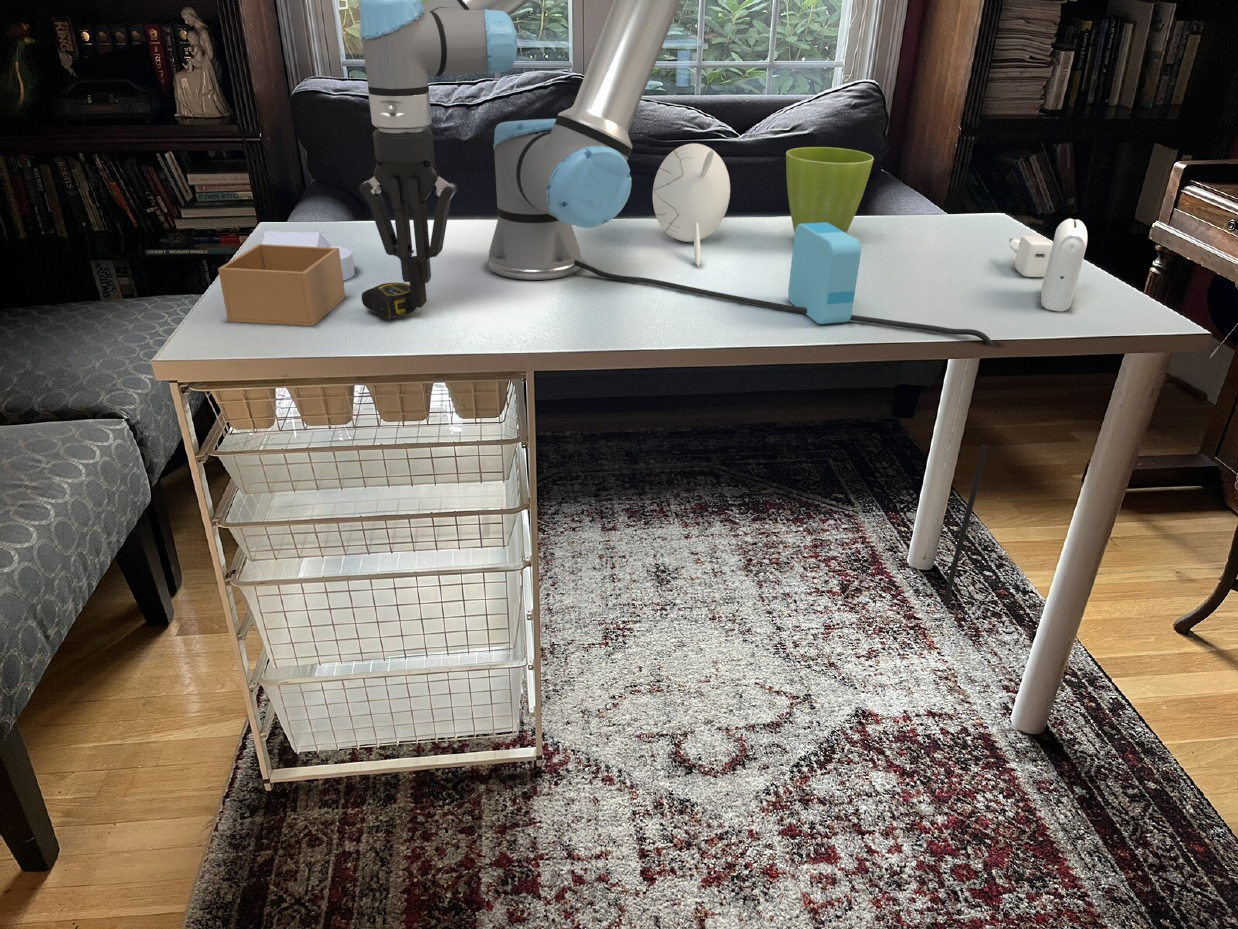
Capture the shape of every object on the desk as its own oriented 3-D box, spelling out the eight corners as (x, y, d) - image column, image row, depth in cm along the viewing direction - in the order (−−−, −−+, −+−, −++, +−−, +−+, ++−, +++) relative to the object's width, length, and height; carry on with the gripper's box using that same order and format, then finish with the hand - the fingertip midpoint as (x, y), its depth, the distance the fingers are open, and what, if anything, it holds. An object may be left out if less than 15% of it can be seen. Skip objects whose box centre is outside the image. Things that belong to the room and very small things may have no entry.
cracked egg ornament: (654, 137, 169) (665, 143, 146) (728, 145, 170) (750, 151, 147) (643, 242, 176) (652, 263, 152) (714, 248, 177) (734, 270, 153)
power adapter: (999, 258, 161) (1007, 225, 159) (1027, 259, 161) (1035, 226, 158) (1019, 278, 152) (1028, 242, 149) (1049, 279, 151) (1058, 243, 149)
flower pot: (799, 230, 175) (809, 143, 168) (873, 244, 168) (887, 153, 160) (762, 247, 165) (771, 154, 157) (839, 263, 157) (852, 166, 149)
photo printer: (1070, 313, 137) (1093, 231, 131) (1039, 309, 138) (1060, 227, 132) (1068, 293, 145) (1089, 214, 139) (1039, 289, 147) (1058, 211, 140)
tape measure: (361, 312, 132) (358, 286, 130) (404, 302, 135) (402, 278, 134) (383, 325, 127) (379, 299, 125) (427, 315, 131) (425, 290, 129)
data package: (850, 325, 131) (863, 241, 125) (821, 327, 130) (833, 243, 124) (813, 298, 141) (823, 219, 135) (786, 300, 140) (795, 221, 134)
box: (345, 297, 137) (339, 247, 133) (313, 326, 126) (305, 273, 123) (266, 293, 138) (258, 243, 134) (228, 321, 127) (217, 268, 124)
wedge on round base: (262, 282, 142) (345, 284, 142) (254, 239, 139) (340, 241, 139) (281, 264, 150) (361, 266, 150) (275, 223, 147) (356, 225, 147)
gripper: (343, 131, 115) (365, 311, 127) (443, 134, 114) (457, 315, 126) (363, 122, 122) (383, 293, 133) (458, 124, 121) (470, 297, 132)
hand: (419, 304), depth 129 cm, fingers closed
